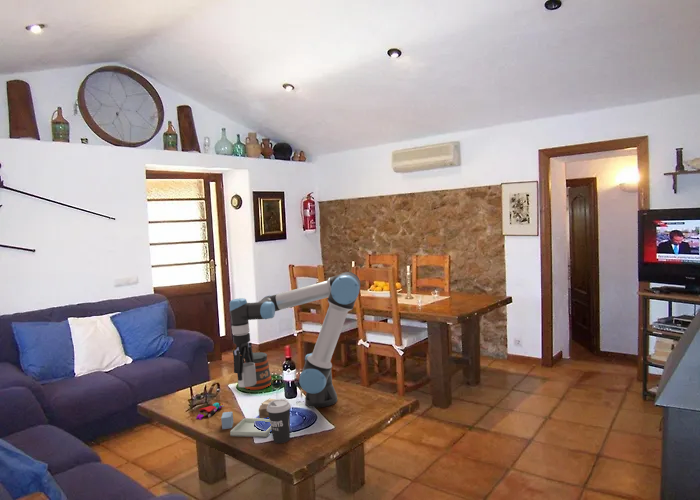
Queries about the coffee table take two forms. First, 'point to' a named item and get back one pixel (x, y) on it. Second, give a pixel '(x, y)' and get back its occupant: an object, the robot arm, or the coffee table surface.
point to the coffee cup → (279, 420)
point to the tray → (249, 428)
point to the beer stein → (261, 371)
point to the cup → (249, 374)
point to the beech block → (267, 401)
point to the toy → (209, 410)
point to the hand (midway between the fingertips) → (246, 383)
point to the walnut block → (263, 411)
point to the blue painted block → (227, 420)
